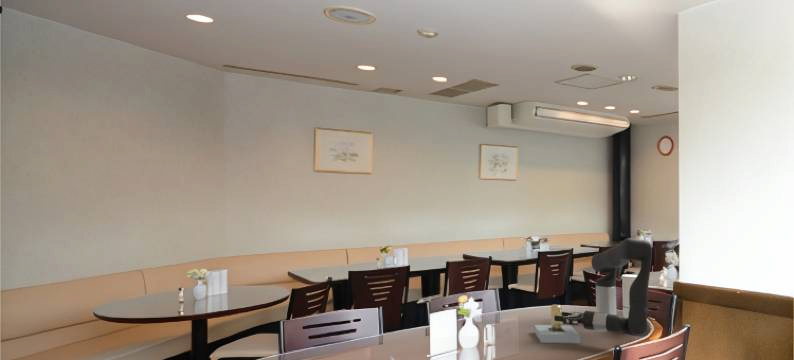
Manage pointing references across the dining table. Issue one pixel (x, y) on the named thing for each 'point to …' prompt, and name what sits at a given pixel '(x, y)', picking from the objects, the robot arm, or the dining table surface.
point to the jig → (556, 334)
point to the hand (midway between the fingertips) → (558, 316)
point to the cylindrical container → (626, 292)
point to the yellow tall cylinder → (555, 325)
